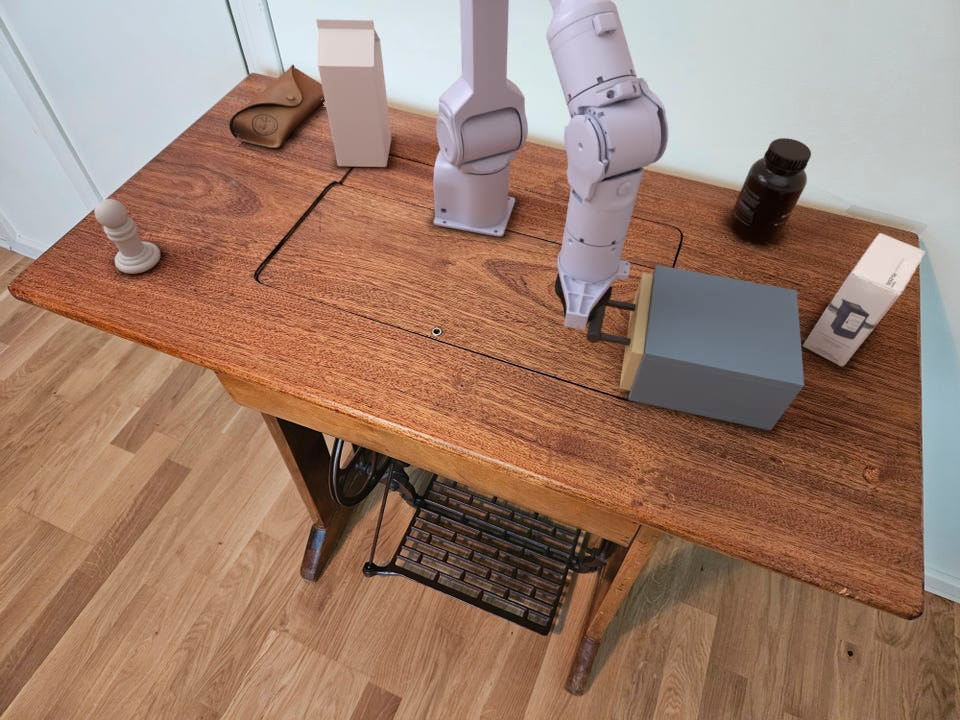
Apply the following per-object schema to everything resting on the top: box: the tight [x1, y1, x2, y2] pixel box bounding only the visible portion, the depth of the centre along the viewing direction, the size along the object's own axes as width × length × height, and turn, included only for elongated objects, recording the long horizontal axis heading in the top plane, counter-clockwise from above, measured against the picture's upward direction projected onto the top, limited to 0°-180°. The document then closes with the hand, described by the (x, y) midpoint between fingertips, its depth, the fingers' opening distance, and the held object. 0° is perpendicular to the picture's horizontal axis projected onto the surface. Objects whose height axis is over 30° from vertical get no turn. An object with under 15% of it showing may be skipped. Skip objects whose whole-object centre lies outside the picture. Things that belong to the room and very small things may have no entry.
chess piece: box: [93, 198, 161, 275], centre depth 74 cm, size 5×5×9 cm
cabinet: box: [628, 264, 805, 431], centre depth 65 cm, size 15×13×8 cm
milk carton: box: [315, 18, 392, 168], centre depth 84 cm, size 7×7×19 cm
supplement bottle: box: [728, 137, 812, 244], centre depth 78 cm, size 7×7×12 cm
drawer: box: [586, 272, 653, 392], centre depth 66 cm, size 18×11×6 cm, turn 75°
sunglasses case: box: [228, 64, 325, 149], centre depth 97 cm, size 18×7×7 cm
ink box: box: [802, 232, 927, 367], centre depth 67 cm, size 8×5×12 cm, turn 140°
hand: (575, 323), depth 68 cm, fingers closed, pressing on drawer
